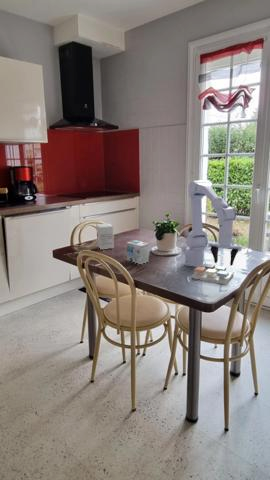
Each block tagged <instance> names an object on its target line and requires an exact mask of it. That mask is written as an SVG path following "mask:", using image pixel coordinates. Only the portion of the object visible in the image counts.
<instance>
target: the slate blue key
mask: <svg viewBox="0 0 270 480" xmlns="http://www.w3.org/2000/svg"><path fill="white" fill-rule="evenodd" d="M227 271H228V270H226V271H221V270H220V271H219V272H218V274H217V276H219V277H225V278H226V277H227V276H228V275H229V272H230V271H228V272H227Z"/></svg>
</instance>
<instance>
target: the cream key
mask: <svg viewBox="0 0 270 480" xmlns="http://www.w3.org/2000/svg"><path fill="white" fill-rule="evenodd" d="M215 269H216V268H214V269H208V270H206V274H208V275H215V274H216V273H217V270H215Z"/></svg>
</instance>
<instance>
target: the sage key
mask: <svg viewBox="0 0 270 480" xmlns="http://www.w3.org/2000/svg"><path fill="white" fill-rule="evenodd" d="M215 269H216V270H217V271H218V272H219V271H220V270H221V271H227V266H222V265H217V266H215Z"/></svg>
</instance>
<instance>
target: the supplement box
mask: <svg viewBox="0 0 270 480" xmlns="http://www.w3.org/2000/svg"><path fill="white" fill-rule="evenodd" d="M114 237H115V236H114V226H113V225H112V223H109V222H108V223H98V224H96V241H97V242H96V243H97V246H96V247H97V248H98V247H99V248H100V249H108V248H114V249H115V241H114V240H115V239H114ZM99 248H98V249H99Z"/></svg>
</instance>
